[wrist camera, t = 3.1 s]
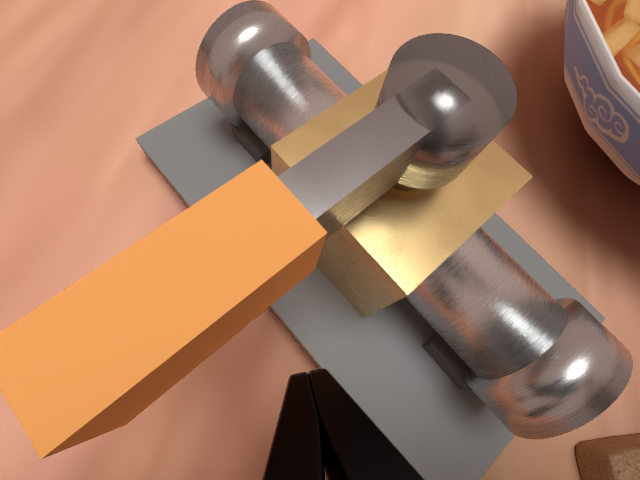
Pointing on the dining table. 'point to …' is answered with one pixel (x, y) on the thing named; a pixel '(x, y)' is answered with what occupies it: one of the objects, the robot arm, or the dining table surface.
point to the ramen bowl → (606, 75)
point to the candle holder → (610, 458)
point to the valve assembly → (399, 264)
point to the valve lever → (241, 249)
